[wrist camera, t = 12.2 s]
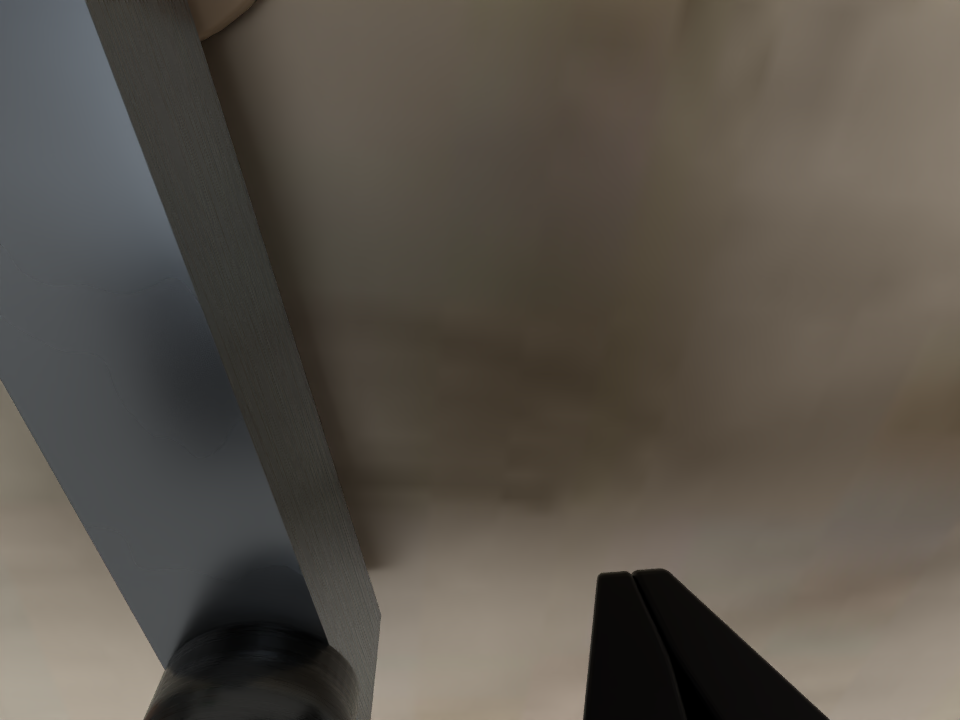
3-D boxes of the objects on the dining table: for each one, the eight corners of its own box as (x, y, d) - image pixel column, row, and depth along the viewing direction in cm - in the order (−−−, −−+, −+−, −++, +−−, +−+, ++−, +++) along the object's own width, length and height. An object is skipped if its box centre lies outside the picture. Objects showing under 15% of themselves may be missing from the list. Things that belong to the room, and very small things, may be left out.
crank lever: (-330, -548, 5) (-1983, -1819, 2) (87, -631, 5) (-705, -2143, 2) (228, 625, 12) (134, 888, 8) (419, 595, 12) (411, 846, 8)
